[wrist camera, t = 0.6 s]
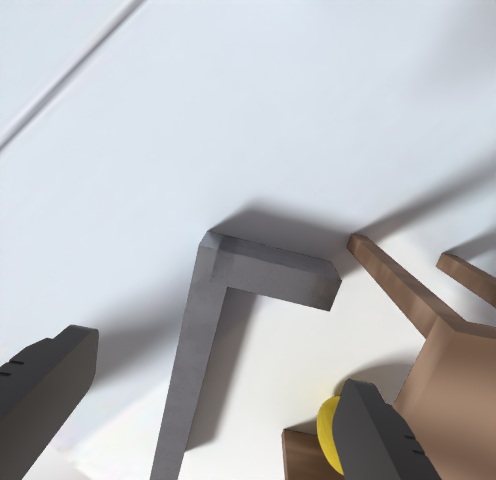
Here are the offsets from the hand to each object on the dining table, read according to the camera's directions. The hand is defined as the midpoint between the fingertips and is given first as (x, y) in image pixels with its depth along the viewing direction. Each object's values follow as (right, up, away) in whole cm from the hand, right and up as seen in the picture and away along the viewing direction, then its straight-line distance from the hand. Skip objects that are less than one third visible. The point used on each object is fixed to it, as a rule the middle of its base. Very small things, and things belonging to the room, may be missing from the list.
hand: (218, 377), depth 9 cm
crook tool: (-1, -10, +22) cm, 24 cm away
